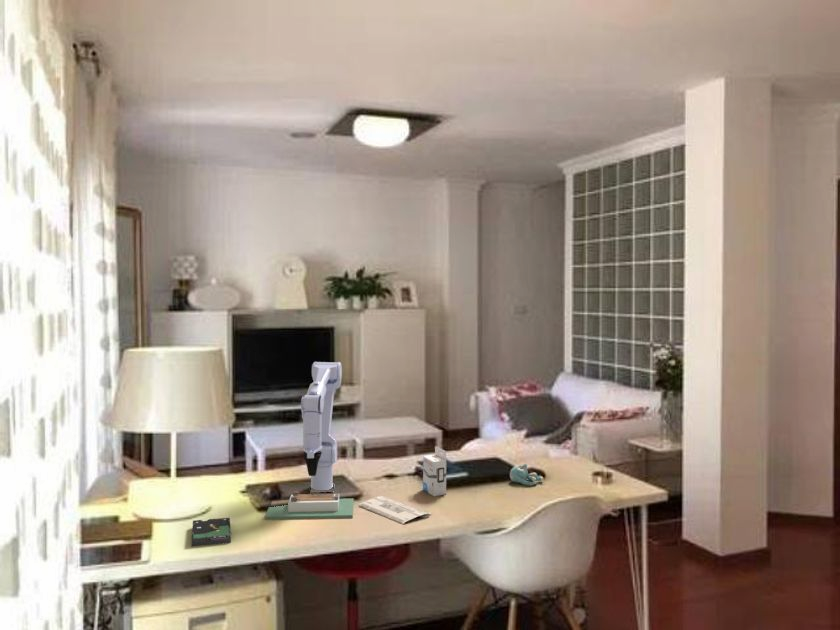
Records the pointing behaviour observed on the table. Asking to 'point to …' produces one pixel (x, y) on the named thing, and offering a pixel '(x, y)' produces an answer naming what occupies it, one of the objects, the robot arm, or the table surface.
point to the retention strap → (315, 496)
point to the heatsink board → (310, 515)
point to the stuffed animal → (524, 476)
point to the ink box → (435, 473)
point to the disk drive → (211, 532)
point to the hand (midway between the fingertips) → (312, 475)
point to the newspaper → (393, 509)
